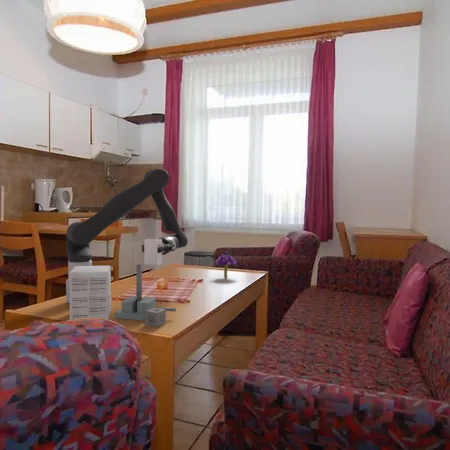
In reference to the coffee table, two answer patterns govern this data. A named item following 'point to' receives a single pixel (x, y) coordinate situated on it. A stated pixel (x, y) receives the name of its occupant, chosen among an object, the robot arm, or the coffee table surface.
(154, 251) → the steel sleeve
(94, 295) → the supplement box
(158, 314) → the dice cube
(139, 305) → the vise
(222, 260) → the decorative mushroom
